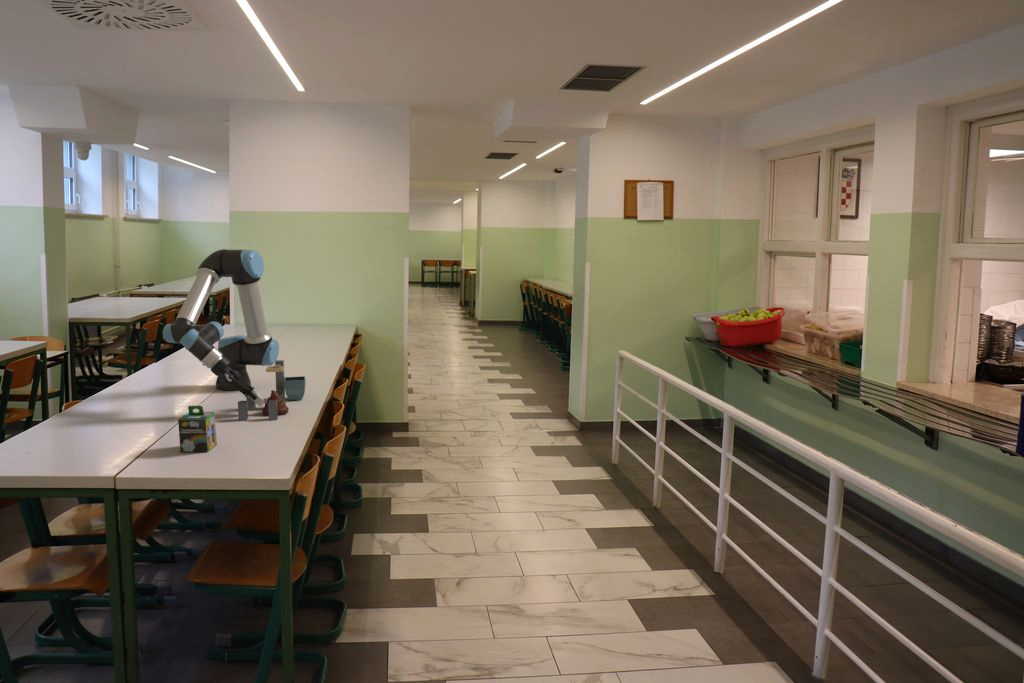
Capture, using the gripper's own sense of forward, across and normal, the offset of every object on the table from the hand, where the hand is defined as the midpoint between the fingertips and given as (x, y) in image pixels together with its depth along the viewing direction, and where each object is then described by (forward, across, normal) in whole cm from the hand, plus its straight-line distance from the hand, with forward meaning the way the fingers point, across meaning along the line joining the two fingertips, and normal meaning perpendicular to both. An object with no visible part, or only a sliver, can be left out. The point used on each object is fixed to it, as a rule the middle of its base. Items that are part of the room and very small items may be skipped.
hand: (262, 404), depth 312 cm
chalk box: (-6, +47, -12) cm, 49 cm away
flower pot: (+9, -26, +3) cm, 28 cm away
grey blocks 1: (-1, 0, -7) cm, 7 cm away
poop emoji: (+6, -1, 0) cm, 6 cm away
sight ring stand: (+6, -5, +1) cm, 8 cm away
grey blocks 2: (+6, 0, +1) cm, 6 cm away
